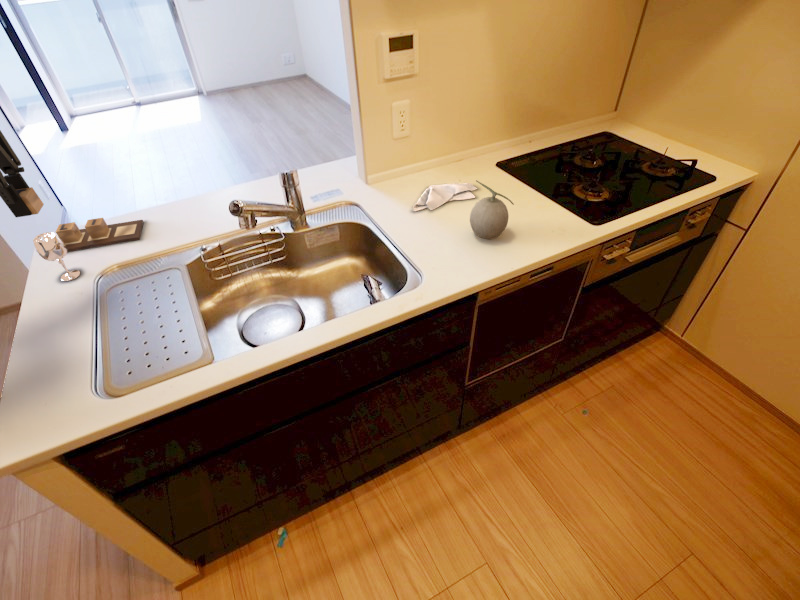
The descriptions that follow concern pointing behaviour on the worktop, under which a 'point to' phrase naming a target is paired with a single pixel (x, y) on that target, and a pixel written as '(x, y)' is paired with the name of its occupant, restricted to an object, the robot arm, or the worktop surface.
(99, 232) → the tile
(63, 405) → the worktop surface
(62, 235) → the tile
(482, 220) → the fruit
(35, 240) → the wineglass
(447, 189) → the cloth
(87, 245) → the board
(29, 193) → the tile
